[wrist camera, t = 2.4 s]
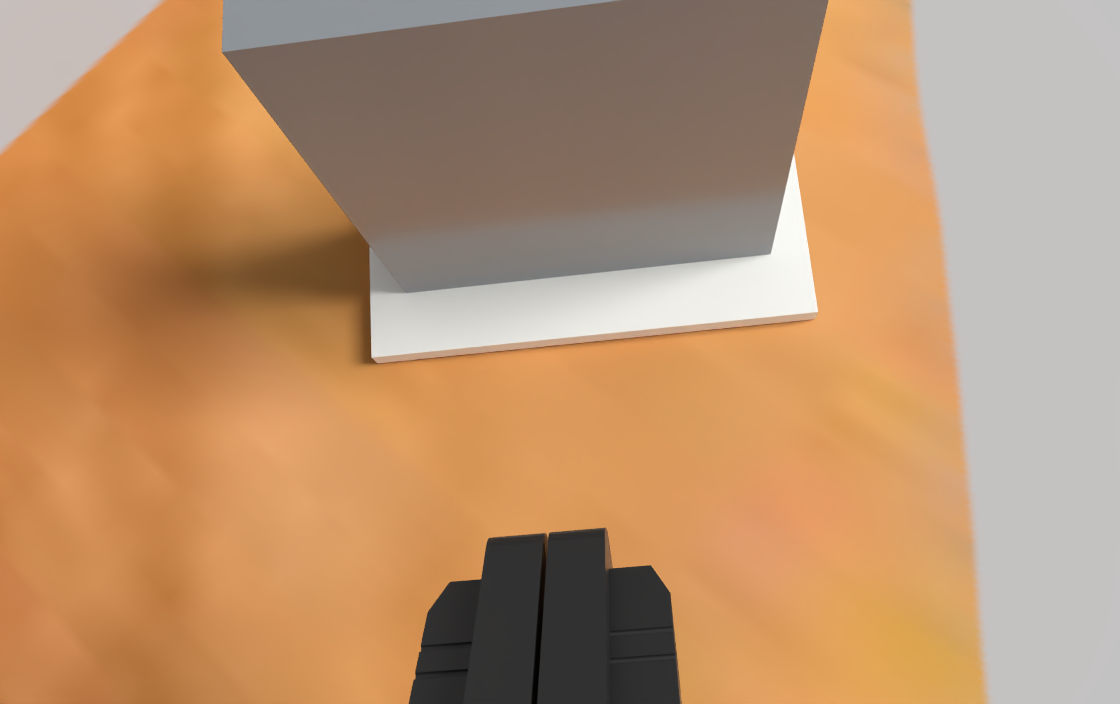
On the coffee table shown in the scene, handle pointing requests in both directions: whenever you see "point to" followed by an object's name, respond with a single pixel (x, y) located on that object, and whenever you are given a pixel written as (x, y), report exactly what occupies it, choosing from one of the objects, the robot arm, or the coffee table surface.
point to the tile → (538, 125)
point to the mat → (599, 301)
